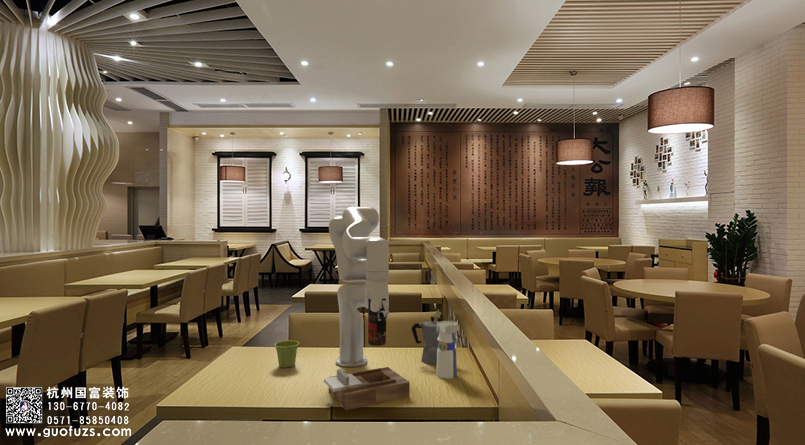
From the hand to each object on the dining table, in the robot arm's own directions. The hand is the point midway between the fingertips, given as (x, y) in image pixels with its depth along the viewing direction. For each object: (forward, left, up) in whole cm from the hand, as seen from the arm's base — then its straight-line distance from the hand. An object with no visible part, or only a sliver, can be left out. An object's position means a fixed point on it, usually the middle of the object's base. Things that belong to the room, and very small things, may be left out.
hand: (377, 329), depth 147 cm
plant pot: (-41, -20, -21) cm, 50 cm away
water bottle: (-3, +30, -21) cm, 37 cm away
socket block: (0, -3, -21) cm, 21 cm away
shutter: (0, -12, -16) cm, 20 cm away
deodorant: (0, 0, -5) cm, 5 cm away
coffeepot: (-20, +33, -21) cm, 44 cm away
